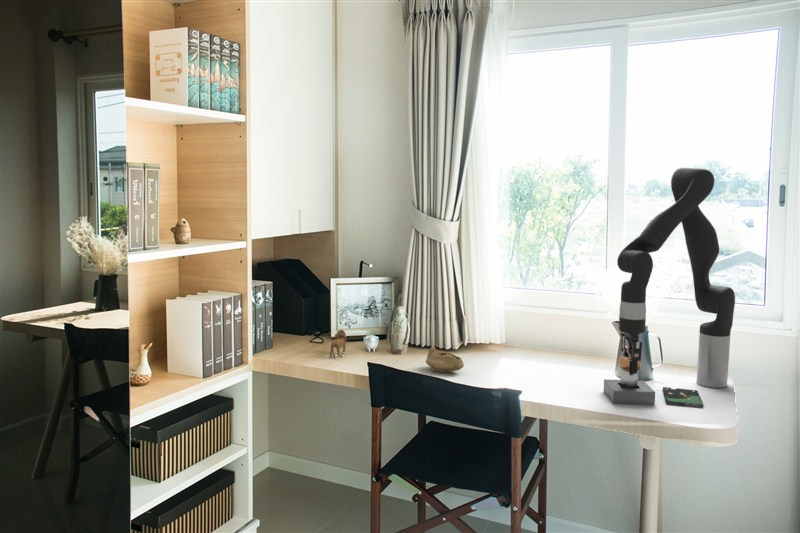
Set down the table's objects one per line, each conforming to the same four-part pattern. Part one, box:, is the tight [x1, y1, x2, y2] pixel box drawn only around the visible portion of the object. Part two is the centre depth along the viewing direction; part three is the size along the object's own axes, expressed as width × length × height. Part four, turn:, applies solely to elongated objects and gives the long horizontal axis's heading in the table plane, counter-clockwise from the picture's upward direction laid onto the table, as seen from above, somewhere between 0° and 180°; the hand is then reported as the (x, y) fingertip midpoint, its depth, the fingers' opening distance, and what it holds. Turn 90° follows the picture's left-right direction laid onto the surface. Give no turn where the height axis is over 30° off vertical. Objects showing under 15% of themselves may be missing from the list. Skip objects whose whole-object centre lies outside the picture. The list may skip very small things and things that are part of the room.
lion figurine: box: [329, 329, 347, 359], centre depth 252 cm, size 15×5×9 cm, turn 175°
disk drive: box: [662, 386, 704, 409], centre depth 197 cm, size 10×3×15 cm
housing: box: [603, 379, 656, 406], centre depth 197 cm, size 12×12×5 cm
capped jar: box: [619, 355, 642, 388], centre depth 196 cm, size 6×6×10 cm
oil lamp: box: [425, 346, 465, 373], centre depth 230 cm, size 11×15×8 cm
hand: (629, 370), depth 196 cm, fingers closed on capped jar, 6 cm apart
